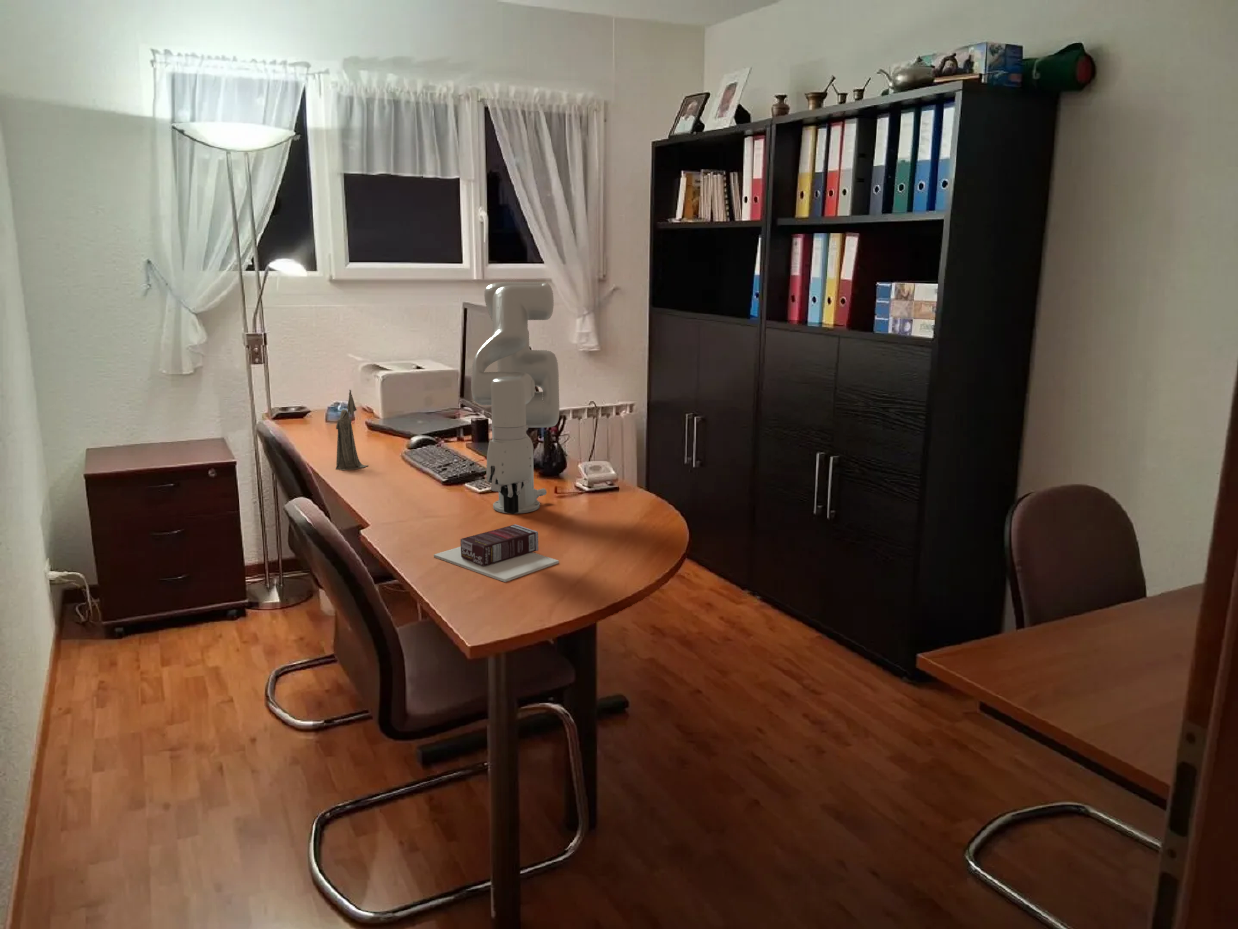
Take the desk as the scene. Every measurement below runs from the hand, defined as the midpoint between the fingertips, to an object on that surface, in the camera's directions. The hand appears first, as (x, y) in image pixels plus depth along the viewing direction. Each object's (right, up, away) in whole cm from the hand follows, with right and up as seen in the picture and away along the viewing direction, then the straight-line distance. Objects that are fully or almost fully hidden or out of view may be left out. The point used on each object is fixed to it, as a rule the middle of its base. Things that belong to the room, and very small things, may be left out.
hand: (511, 512), depth 203 cm
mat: (-3, -11, -1) cm, 11 cm away
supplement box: (+3, -6, +6) cm, 9 cm away
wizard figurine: (-62, +10, +86) cm, 106 cm away
